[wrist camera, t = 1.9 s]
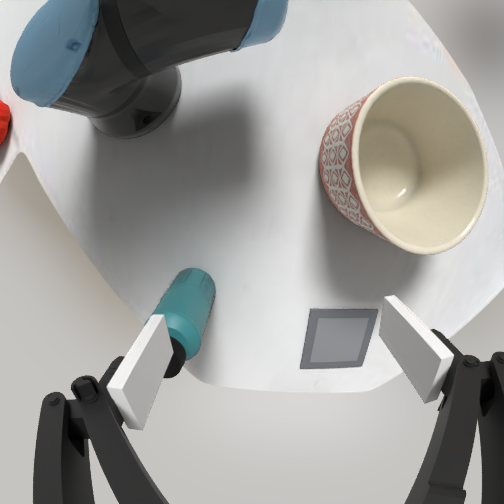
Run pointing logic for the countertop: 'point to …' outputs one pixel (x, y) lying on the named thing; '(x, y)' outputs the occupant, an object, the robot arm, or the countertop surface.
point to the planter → (407, 165)
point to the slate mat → (337, 337)
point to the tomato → (4, 120)
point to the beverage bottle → (186, 314)
